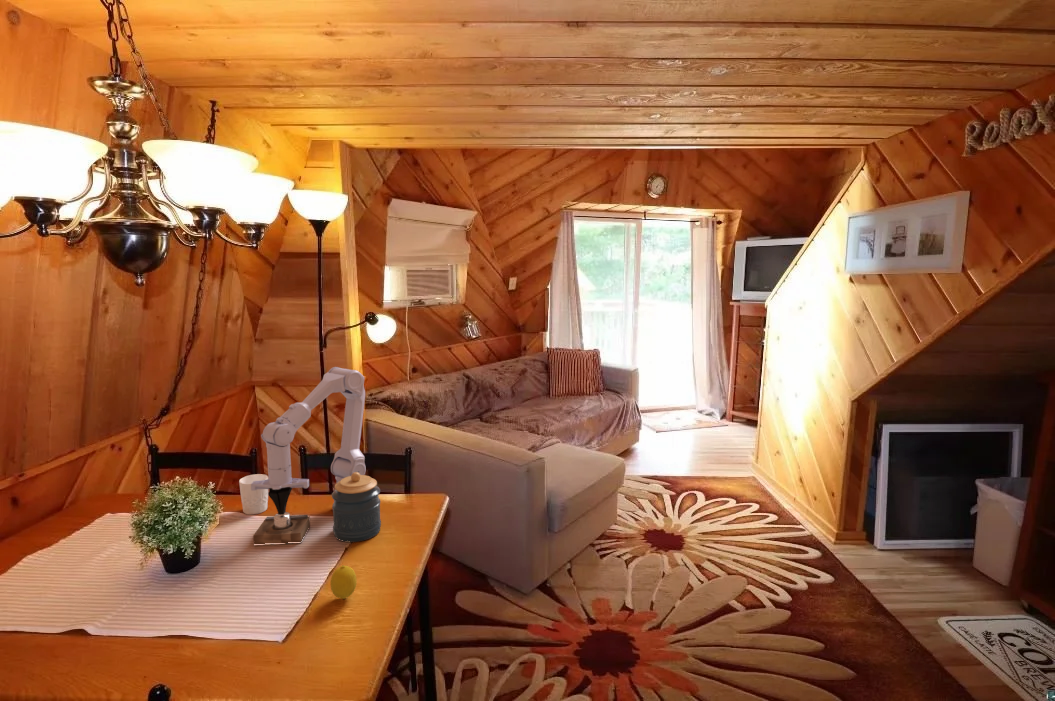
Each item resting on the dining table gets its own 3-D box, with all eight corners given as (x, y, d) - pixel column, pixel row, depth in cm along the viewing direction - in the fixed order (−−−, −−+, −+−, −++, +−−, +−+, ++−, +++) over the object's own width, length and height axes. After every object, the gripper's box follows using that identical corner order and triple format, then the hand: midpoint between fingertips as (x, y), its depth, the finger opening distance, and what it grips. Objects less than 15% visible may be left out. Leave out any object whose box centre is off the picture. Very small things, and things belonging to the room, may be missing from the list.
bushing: (292, 531, 152) (291, 511, 151) (289, 538, 148) (288, 517, 147) (277, 532, 151) (276, 512, 150) (273, 539, 147) (272, 519, 146)
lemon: (359, 591, 124) (358, 559, 123) (352, 606, 119) (351, 572, 117) (335, 591, 124) (334, 559, 123) (327, 606, 118) (326, 572, 117)
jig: (310, 526, 155) (309, 514, 155) (300, 543, 145) (300, 531, 145) (266, 528, 153) (265, 516, 153) (253, 546, 143) (252, 533, 143)
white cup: (235, 513, 162) (232, 481, 161) (255, 502, 170) (253, 472, 168) (256, 517, 160) (254, 485, 159) (275, 506, 167) (273, 475, 166)
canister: (367, 545, 145) (365, 483, 142) (323, 540, 147) (321, 478, 145) (389, 524, 157) (387, 466, 155) (348, 519, 160) (346, 462, 157)
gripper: (245, 472, 141) (248, 521, 143) (303, 470, 143) (305, 518, 145) (255, 463, 148) (257, 509, 150) (310, 461, 150) (312, 506, 152)
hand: (282, 513), depth 148 cm, fingers closed
